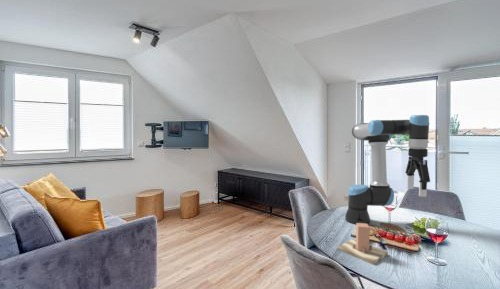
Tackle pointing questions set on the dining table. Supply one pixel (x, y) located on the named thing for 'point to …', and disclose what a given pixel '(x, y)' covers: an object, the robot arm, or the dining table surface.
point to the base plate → (363, 252)
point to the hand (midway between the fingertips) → (416, 192)
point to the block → (362, 236)
